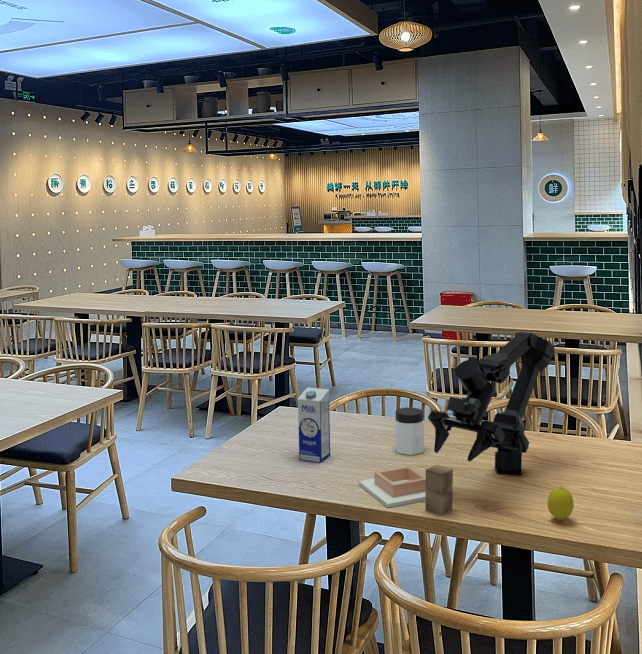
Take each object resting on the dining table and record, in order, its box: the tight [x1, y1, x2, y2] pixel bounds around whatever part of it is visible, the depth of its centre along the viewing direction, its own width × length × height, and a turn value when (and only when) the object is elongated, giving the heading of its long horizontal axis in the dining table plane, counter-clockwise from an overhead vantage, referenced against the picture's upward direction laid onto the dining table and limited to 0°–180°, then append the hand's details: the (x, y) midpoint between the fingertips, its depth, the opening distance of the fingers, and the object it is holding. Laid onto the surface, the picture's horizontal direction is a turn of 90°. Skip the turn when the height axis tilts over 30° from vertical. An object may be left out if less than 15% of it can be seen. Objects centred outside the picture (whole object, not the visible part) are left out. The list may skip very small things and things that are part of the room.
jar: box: [394, 407, 425, 456], centre depth 207 cm, size 9×8×12 cm
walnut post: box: [425, 464, 454, 516], centre depth 165 cm, size 4×4×10 cm
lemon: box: [547, 486, 574, 521], centre depth 159 cm, size 6×6×8 cm
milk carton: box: [297, 387, 331, 464], centre depth 202 cm, size 7×7×20 cm
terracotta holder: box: [358, 466, 426, 509], centre depth 178 cm, size 16×16×4 cm
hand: (451, 456), depth 168 cm, fingers open, 9 cm apart
